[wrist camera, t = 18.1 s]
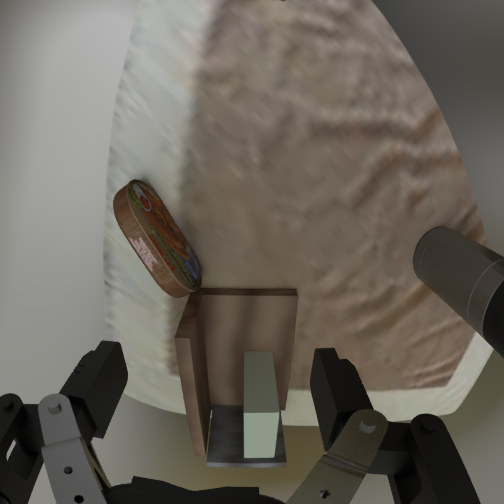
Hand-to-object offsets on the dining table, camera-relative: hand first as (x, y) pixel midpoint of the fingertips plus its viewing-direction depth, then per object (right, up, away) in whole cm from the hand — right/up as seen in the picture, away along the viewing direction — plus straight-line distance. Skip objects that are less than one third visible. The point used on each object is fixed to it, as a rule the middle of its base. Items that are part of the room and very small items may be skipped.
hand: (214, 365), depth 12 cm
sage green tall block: (+2, -14, +32) cm, 36 cm away
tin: (-9, +7, +27) cm, 30 cm away
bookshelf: (0, -11, +33) cm, 35 cm away
